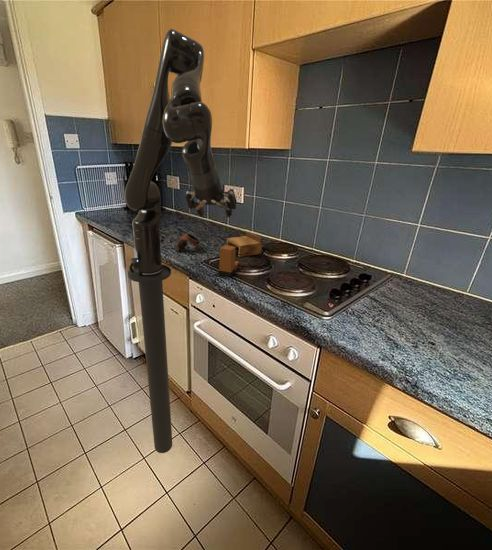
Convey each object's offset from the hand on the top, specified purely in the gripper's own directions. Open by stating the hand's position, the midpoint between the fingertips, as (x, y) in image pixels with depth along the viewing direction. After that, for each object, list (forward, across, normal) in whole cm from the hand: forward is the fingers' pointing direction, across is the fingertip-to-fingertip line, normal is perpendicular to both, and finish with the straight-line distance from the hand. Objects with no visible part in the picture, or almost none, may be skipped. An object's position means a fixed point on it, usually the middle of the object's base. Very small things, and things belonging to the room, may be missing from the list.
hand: (215, 214), depth 94 cm
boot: (+25, -2, +8) cm, 26 cm away
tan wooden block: (+42, -3, -11) cm, 43 cm away
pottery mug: (+37, +21, -7) cm, 43 cm away
